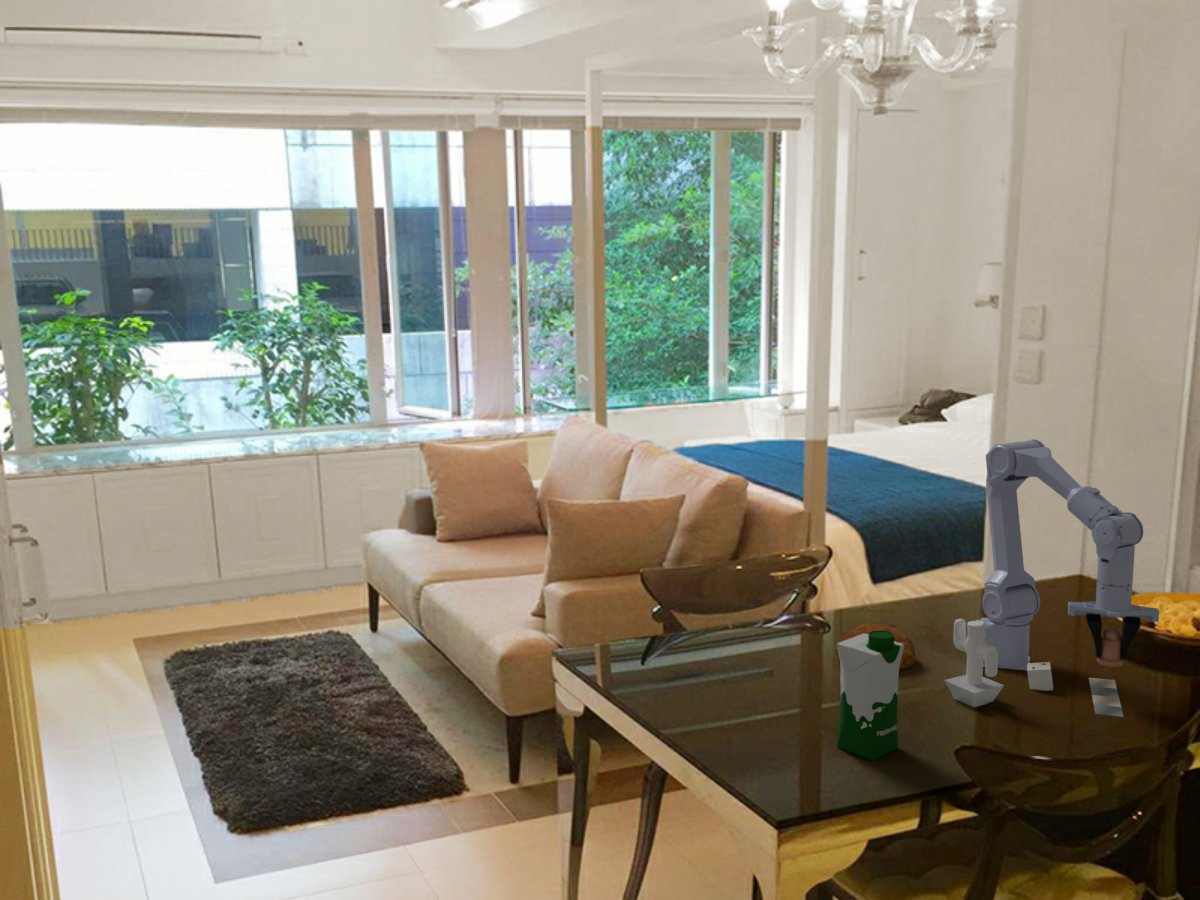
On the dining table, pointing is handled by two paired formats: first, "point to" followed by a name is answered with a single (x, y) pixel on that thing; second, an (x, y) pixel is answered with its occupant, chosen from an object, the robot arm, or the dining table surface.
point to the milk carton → (869, 694)
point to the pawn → (1111, 648)
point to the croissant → (908, 649)
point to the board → (1105, 697)
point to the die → (1040, 676)
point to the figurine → (975, 665)
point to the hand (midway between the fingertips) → (1110, 656)
